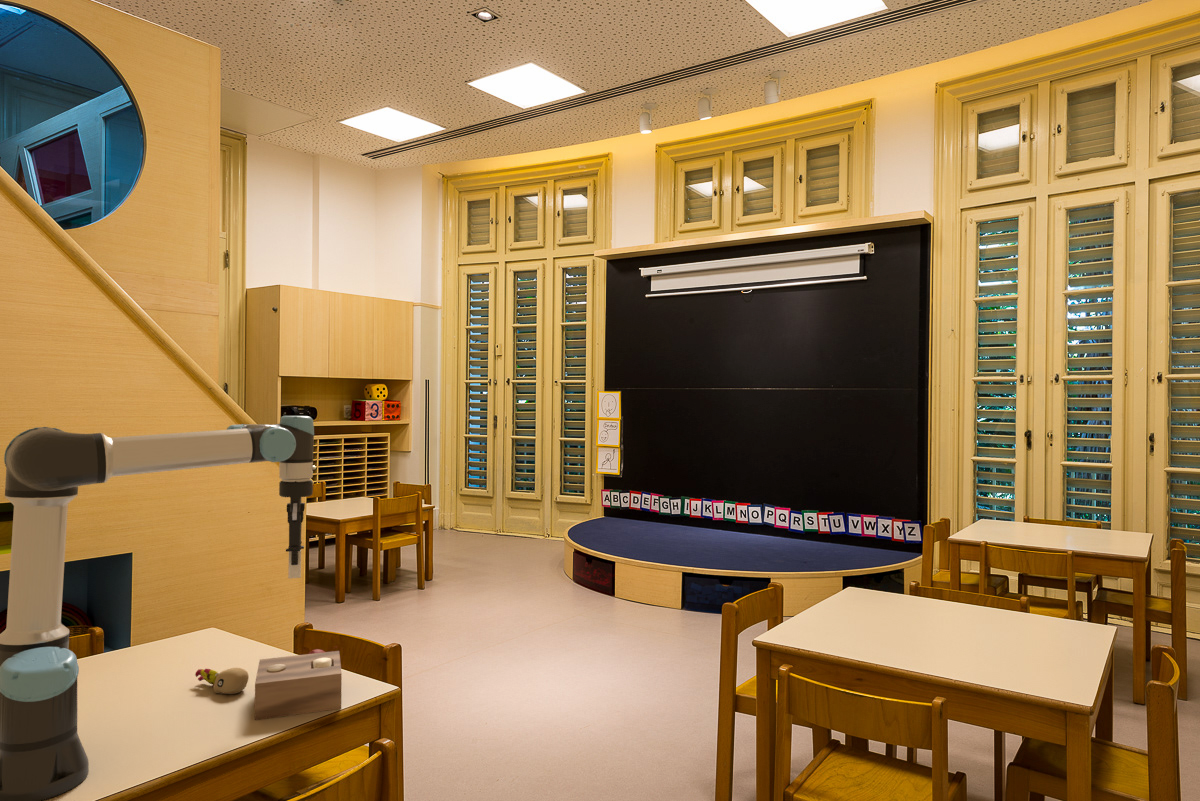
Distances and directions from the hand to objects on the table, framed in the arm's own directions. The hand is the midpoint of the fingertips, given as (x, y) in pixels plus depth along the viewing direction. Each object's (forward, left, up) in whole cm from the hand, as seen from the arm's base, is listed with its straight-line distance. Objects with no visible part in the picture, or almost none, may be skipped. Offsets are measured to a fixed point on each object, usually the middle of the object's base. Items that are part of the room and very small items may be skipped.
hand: (294, 577), depth 181 cm
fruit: (+13, -6, -28) cm, 31 cm away
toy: (+7, +17, -28) cm, 33 cm away
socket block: (-6, -1, -28) cm, 28 cm away
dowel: (-7, -6, -27) cm, 28 cm away
